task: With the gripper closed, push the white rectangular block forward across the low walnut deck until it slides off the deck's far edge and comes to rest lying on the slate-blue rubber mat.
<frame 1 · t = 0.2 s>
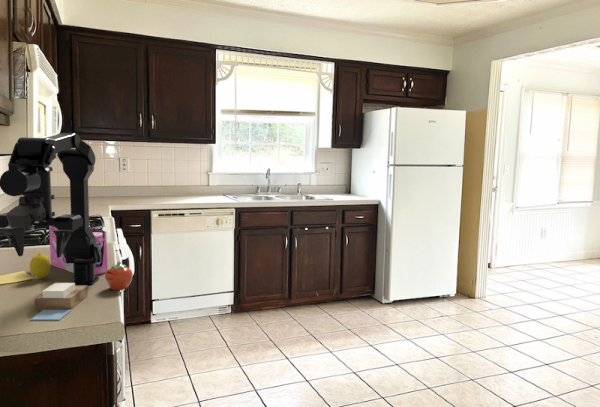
hand: (39, 256, 109), 14 cm above the counter, tool pointing down, fingers open, 9 cm apart
deck: (62, 302, 119), on the counter
lemon: (40, 279, 139), on the counter
mat: (51, 315, 110), on the counter
white rectangular block: (59, 293, 117), point 3 cm above the counter, touching deck
tomato: (119, 289, 132), on the counter
gum box: (78, 269, 152), on the counter
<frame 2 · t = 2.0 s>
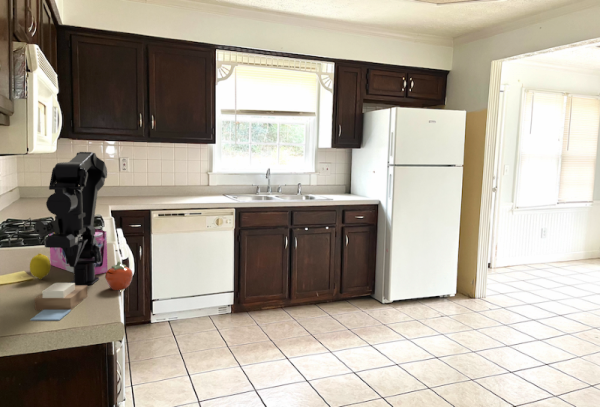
hand: (72, 266, 125), 8 cm above the counter, tool pointing down, fingers closed
nothing on the counter moved.
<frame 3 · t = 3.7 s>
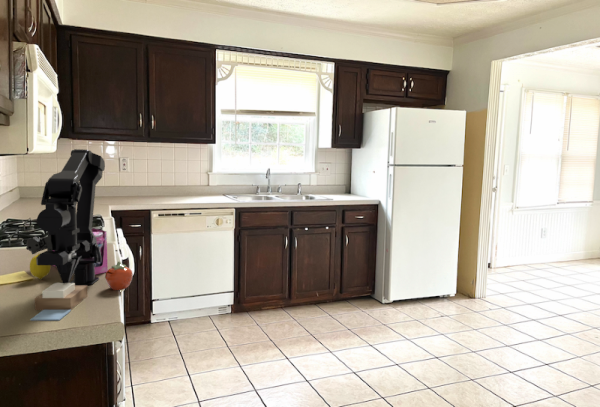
hand: (65, 284, 121), 4 cm above the counter, tool pointing down, fingers closed
white rectangular block: (59, 293, 117), point 3 cm above the counter, touching deck, gripper
everything else where it was.
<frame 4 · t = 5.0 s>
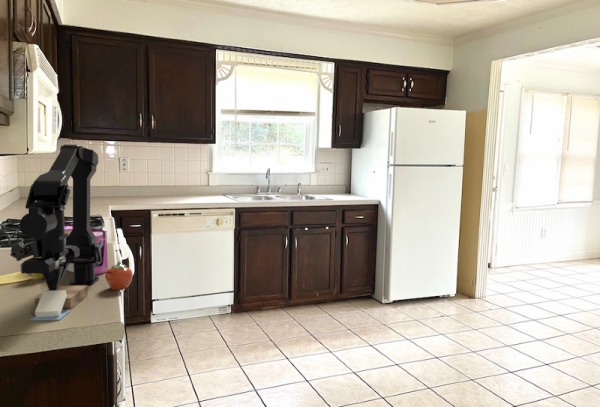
hand: (53, 292, 113), 4 cm above the counter, tool pointing down, fingers closed
white rectangular block: (52, 306, 111), point 2 cm above the counter, tilted 26°, touching gripper
everything else where it was.
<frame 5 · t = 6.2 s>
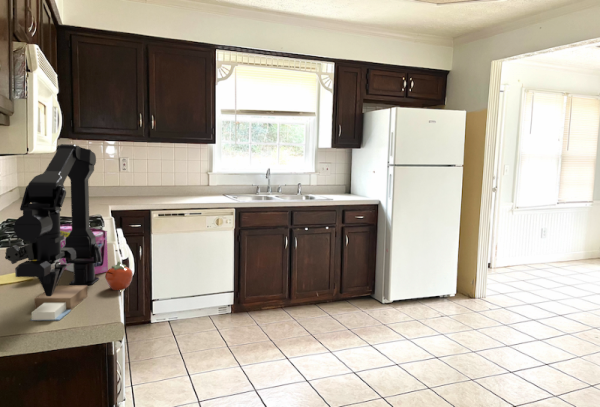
hand: (49, 295, 111), 4 cm above the counter, tool pointing down, fingers closed
white rectangular block: (49, 314, 110), resting on mat
everything else where it was.
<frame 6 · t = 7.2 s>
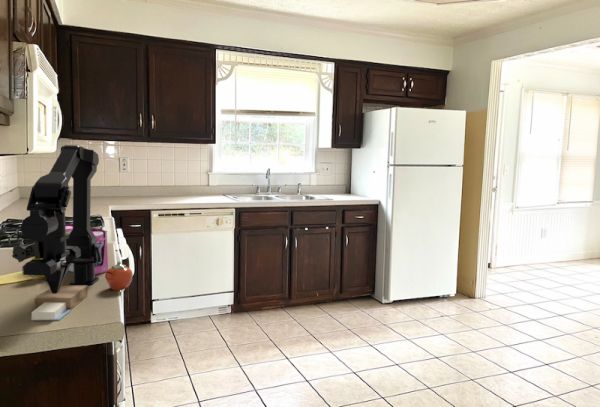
hand: (55, 293, 114), 4 cm above the counter, tool pointing down, fingers closed
nothing on the counter moved.
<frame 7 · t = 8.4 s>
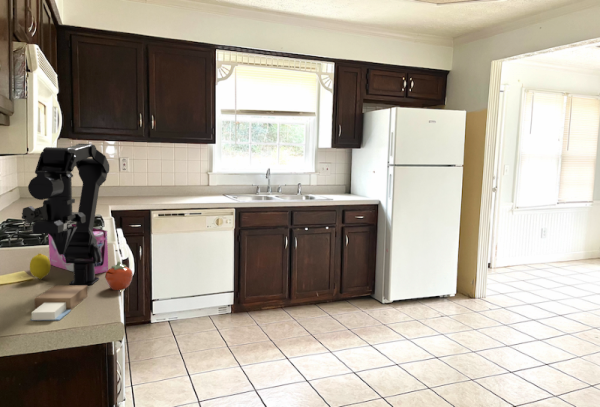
hand: (61, 254, 121), 12 cm above the counter, tool pointing down, fingers closed
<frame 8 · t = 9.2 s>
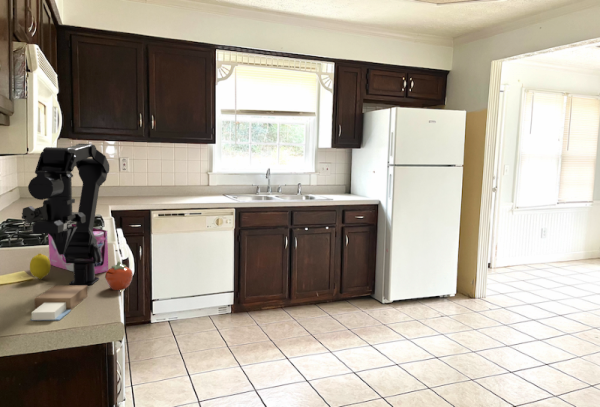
hand: (61, 254, 121), 12 cm above the counter, tool pointing down, fingers closed
at the end: white rectangular block resting on mat; white rectangular block inside the target area on the mat (0.7 cm from its centre), point 0.3 cm above the mat's base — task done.
